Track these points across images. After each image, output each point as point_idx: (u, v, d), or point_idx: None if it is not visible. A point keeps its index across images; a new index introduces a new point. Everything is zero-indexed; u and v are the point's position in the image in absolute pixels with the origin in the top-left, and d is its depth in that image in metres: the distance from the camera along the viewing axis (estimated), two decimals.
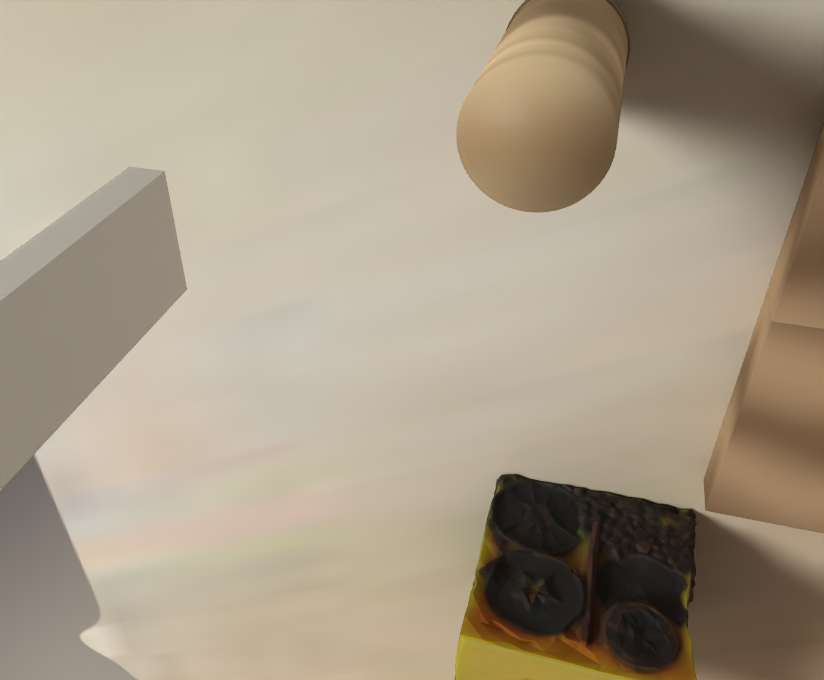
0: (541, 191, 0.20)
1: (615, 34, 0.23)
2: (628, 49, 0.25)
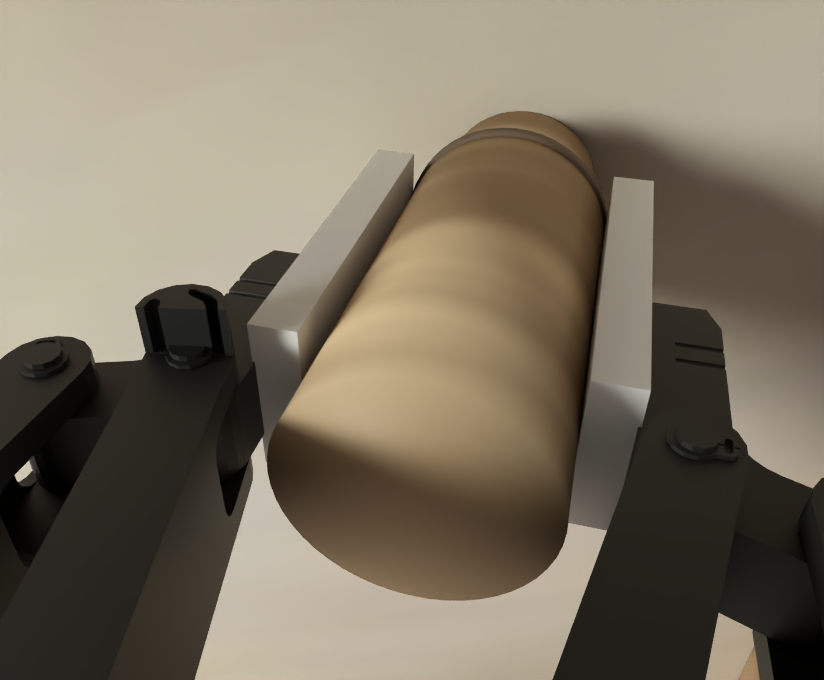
0: (432, 572, 0.11)
1: (578, 235, 0.13)
2: None
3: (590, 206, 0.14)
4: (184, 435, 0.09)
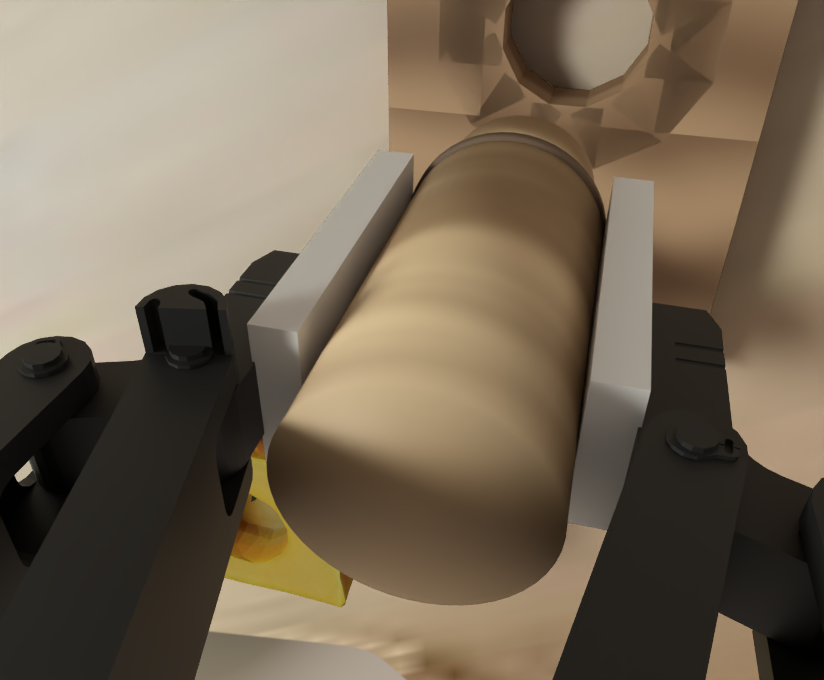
0: (431, 577, 0.11)
1: (577, 240, 0.13)
2: (603, 235, 0.15)
3: (589, 210, 0.14)
4: (184, 435, 0.09)
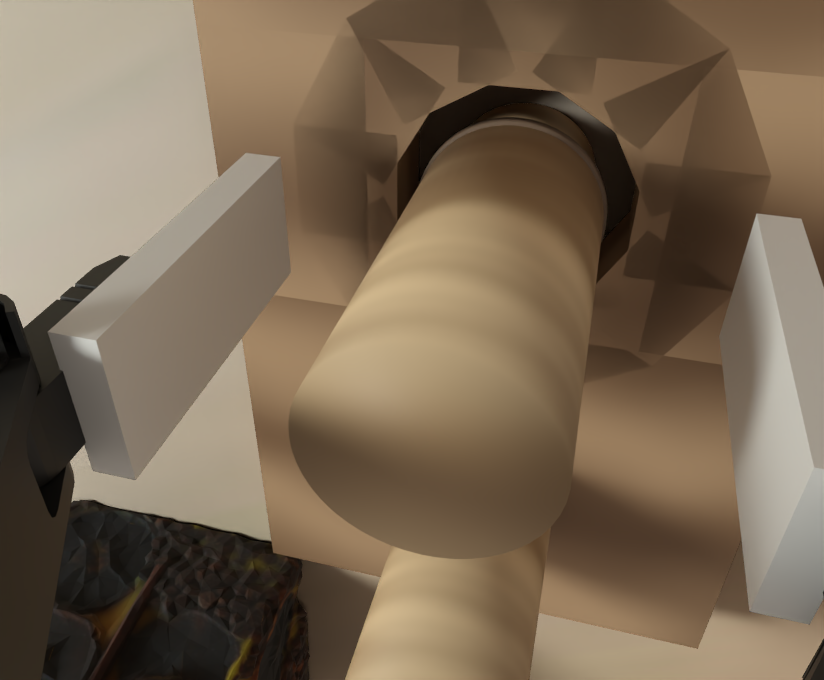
0: (443, 531, 0.11)
1: (580, 218, 0.14)
2: (605, 216, 0.16)
3: (591, 191, 0.15)
4: None
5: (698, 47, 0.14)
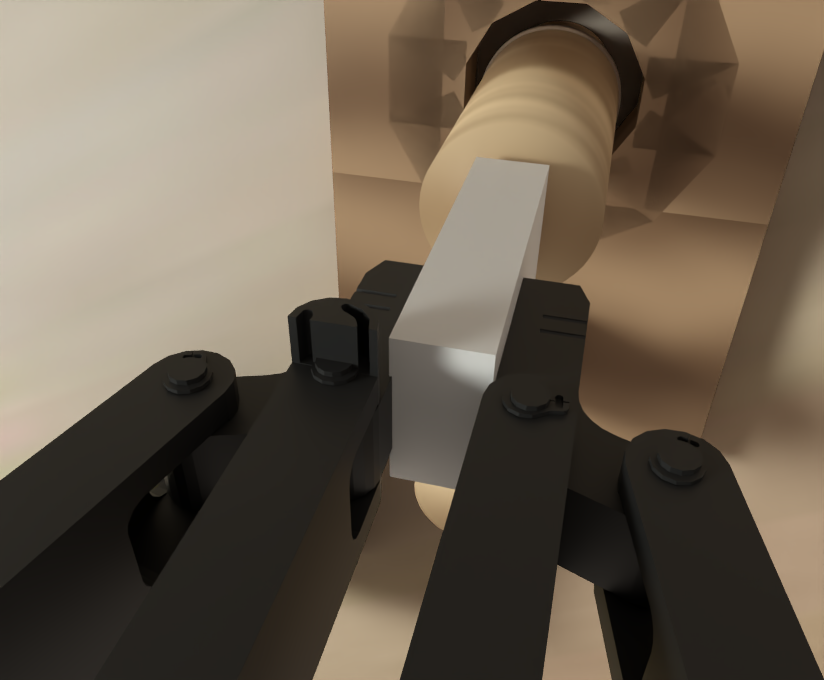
0: None
1: (604, 85, 0.20)
2: (619, 98, 0.22)
3: (610, 74, 0.21)
4: (321, 456, 0.09)
5: None
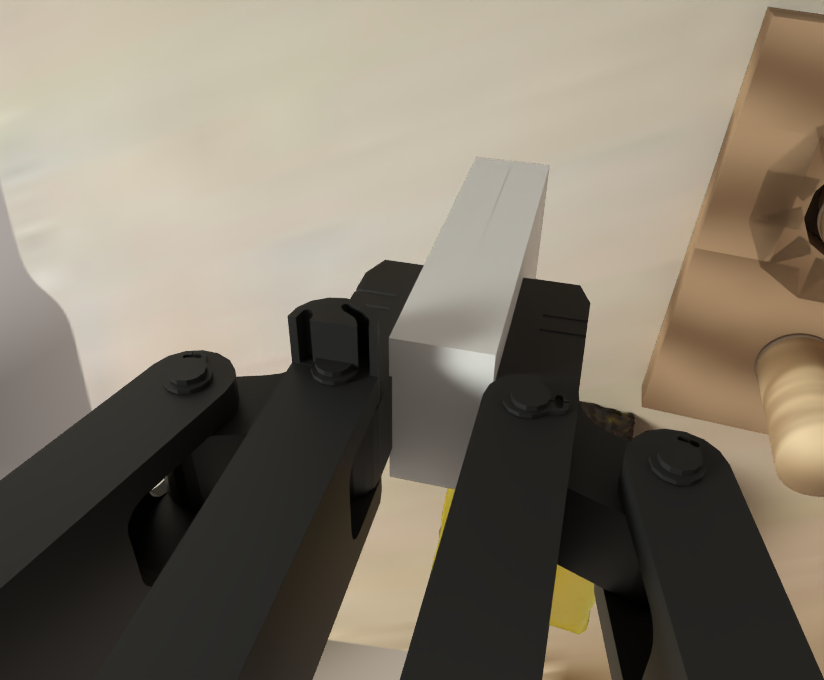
0: None
1: None
2: None
3: None
4: (321, 456, 0.09)
5: None
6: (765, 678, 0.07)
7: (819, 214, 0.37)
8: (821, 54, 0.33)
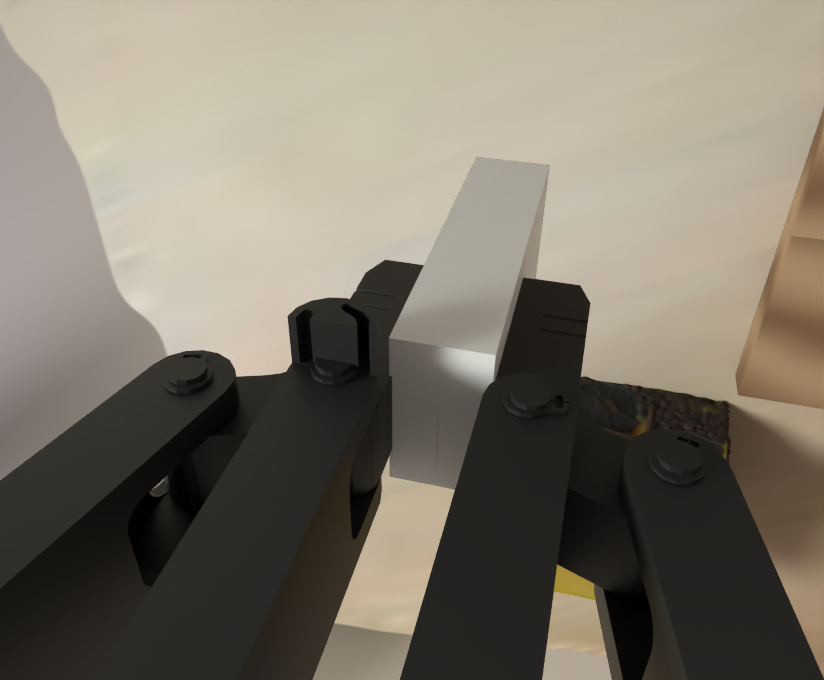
0: None
1: None
2: None
3: None
4: (322, 456, 0.09)
5: None
6: (765, 678, 0.07)
7: None
8: None
